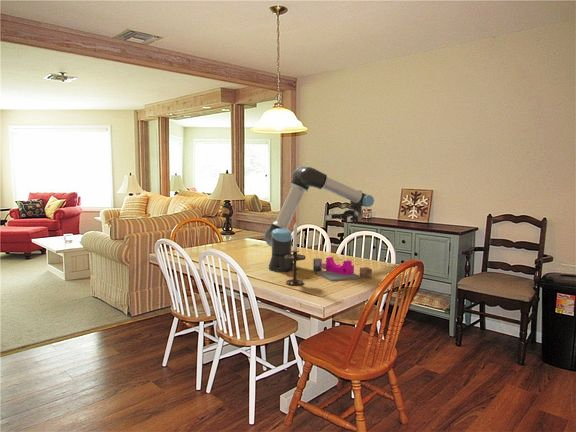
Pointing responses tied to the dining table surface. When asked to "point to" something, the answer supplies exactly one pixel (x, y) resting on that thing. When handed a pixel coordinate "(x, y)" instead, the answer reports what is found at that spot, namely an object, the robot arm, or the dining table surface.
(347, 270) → the toy block
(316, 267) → the metal peg
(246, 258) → the dining table surface
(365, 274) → the walnut cube
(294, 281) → the candlestick
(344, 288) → the dining table surface
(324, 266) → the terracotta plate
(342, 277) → the slate mat
